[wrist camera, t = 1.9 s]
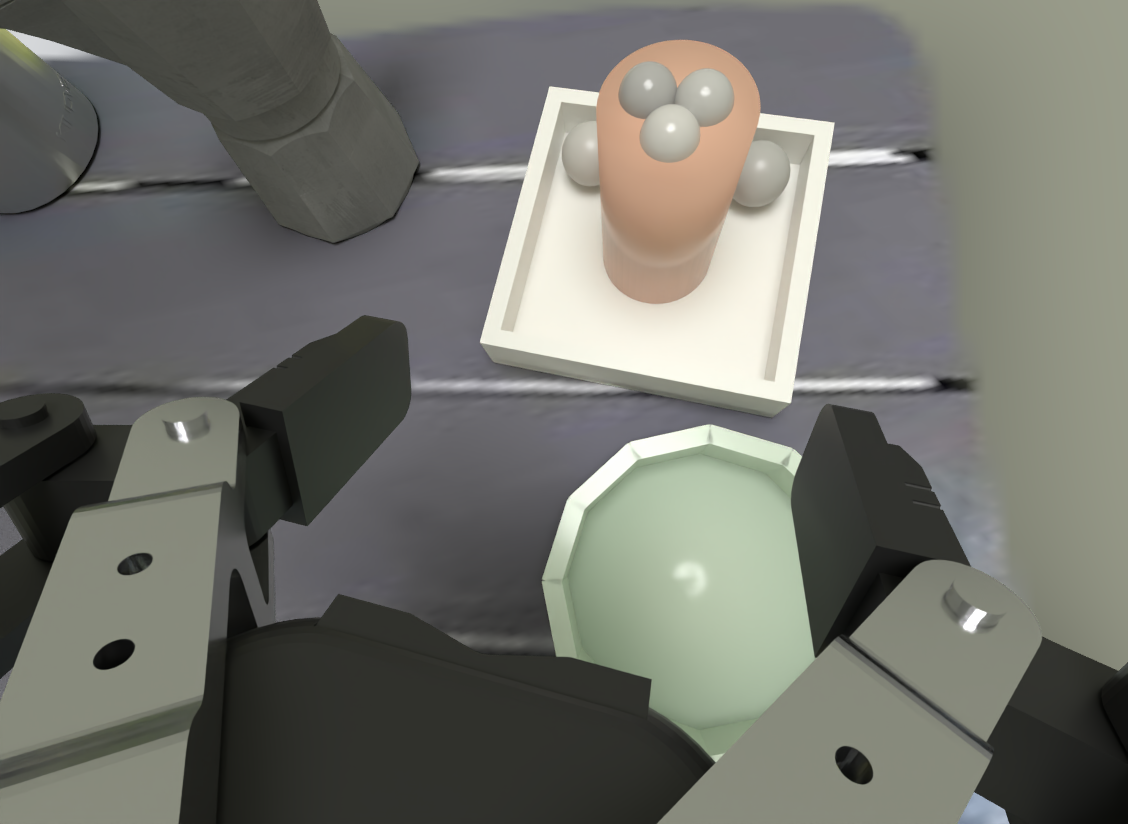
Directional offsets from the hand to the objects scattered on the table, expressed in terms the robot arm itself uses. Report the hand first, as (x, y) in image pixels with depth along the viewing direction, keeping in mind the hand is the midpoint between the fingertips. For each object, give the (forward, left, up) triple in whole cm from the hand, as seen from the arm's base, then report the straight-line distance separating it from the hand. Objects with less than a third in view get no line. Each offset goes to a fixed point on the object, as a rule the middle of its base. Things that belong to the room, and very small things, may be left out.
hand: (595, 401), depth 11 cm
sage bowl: (+3, -5, -17) cm, 18 cm away
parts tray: (+5, +11, -17) cm, 20 cm away
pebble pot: (+5, +11, -16) cm, 20 cm away
